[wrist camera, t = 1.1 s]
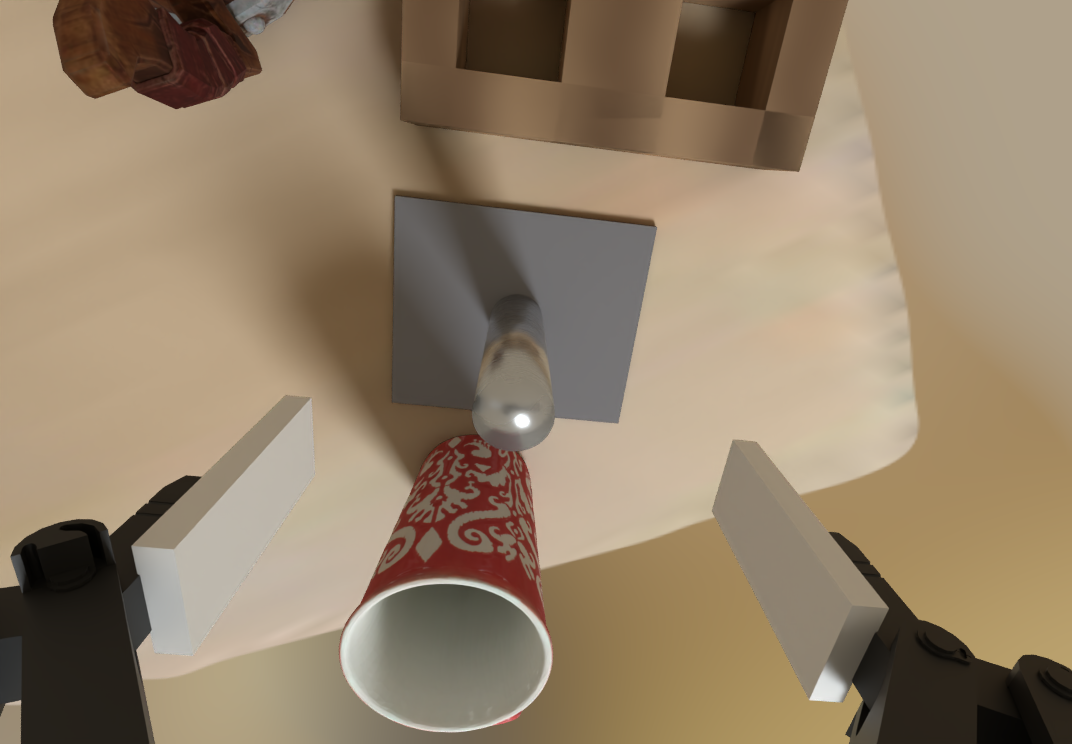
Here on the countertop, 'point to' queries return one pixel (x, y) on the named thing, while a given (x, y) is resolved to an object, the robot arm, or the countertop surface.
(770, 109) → the hole block
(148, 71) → the mug
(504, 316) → the peg
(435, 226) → the mat
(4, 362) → the countertop surface
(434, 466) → the mug
